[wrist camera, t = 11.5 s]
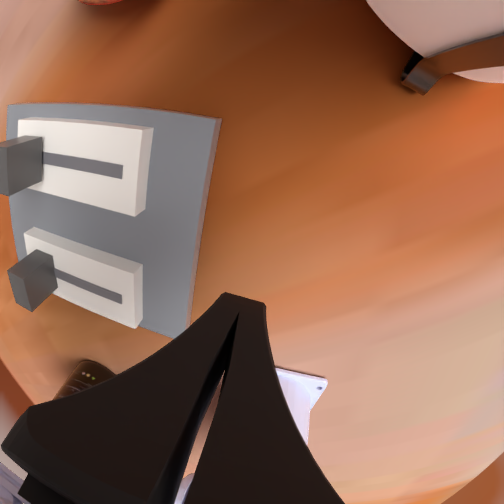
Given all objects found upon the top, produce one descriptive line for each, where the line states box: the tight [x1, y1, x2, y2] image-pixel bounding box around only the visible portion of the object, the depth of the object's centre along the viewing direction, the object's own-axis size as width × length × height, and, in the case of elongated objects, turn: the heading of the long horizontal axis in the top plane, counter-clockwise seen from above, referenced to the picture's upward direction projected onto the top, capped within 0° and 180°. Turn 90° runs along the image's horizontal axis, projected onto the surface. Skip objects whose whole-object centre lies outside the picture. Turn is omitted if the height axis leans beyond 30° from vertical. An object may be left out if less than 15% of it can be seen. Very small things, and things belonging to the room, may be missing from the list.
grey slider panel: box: [6, 102, 222, 339], centre depth 17 cm, size 16×18×6 cm
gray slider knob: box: [0, 135, 42, 196], centre depth 14 cm, size 3×2×3 cm, turn 168°
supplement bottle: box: [53, 361, 116, 400], centre depth 25 cm, size 7×7×12 cm
